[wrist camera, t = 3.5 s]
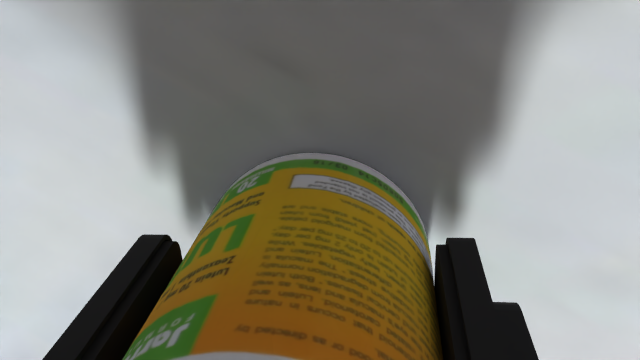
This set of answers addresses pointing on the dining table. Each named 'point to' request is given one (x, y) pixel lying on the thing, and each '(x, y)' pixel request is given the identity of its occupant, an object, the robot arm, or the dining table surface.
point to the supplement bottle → (301, 272)
